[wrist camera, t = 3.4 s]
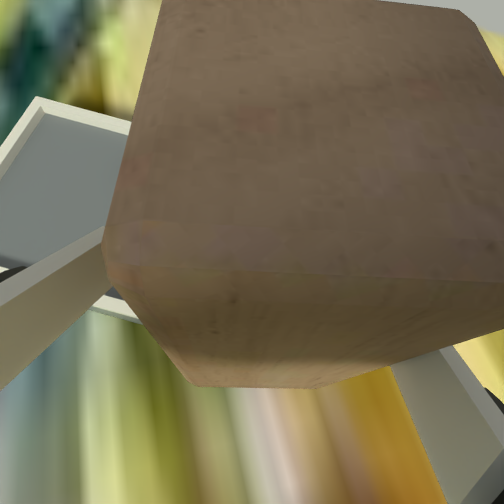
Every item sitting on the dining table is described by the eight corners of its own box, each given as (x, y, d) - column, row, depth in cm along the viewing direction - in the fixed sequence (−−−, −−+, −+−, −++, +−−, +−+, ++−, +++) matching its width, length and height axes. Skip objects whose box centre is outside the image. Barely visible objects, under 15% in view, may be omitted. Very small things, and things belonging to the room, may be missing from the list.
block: (197, 258, 27) (158, -42, 10) (314, 264, 28) (480, -4, 10) (184, 387, 23) (65, 272, 5) (325, 390, 23) (658, 298, 6)
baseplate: (210, 170, 31) (209, 142, 27) (152, 327, 25) (141, 318, 21) (57, 128, 31) (35, 96, 27) (-36, 275, 25) (-78, 258, 22)
